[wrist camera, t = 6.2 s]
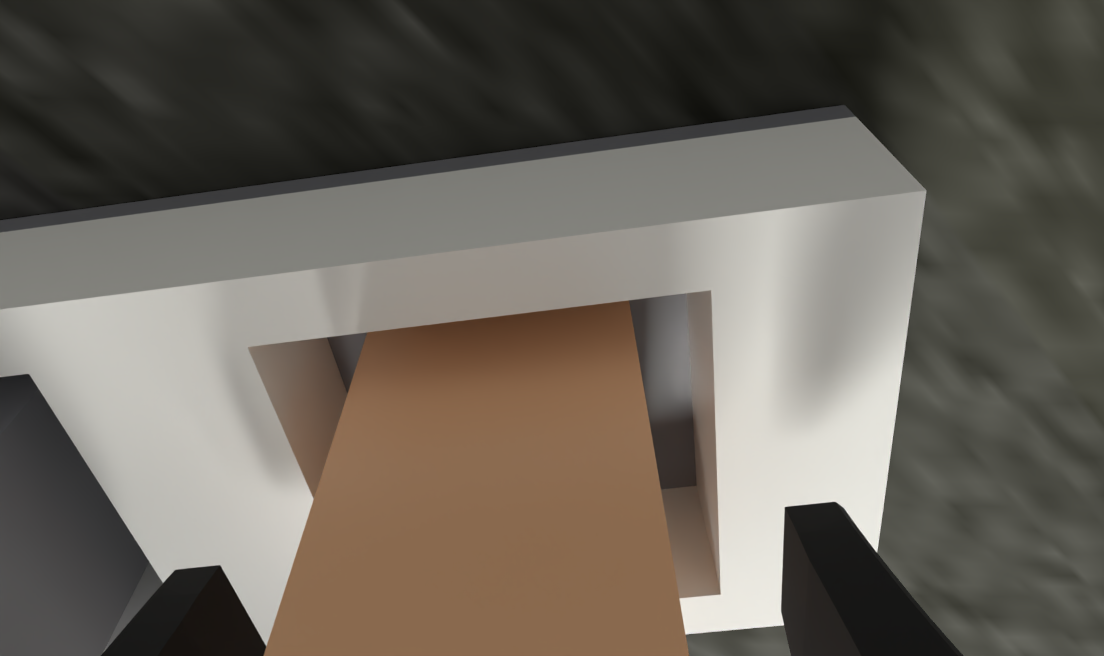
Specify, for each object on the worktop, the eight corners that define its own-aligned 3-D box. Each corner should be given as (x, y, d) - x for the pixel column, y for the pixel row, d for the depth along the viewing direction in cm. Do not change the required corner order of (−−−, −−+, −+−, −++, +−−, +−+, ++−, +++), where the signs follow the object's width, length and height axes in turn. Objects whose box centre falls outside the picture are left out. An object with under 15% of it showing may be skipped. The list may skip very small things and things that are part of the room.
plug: (640, 454, 15) (719, 989, 8) (430, 476, 15) (344, 1012, 9) (623, 270, 13) (713, 802, 6) (377, 300, 13) (204, 840, 6)
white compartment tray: (818, 489, 16) (880, 648, 13) (-103, 585, 18) (-236, 749, 15) (845, 104, 12) (948, 213, 9) (-394, 274, 13) (-671, 418, 10)
